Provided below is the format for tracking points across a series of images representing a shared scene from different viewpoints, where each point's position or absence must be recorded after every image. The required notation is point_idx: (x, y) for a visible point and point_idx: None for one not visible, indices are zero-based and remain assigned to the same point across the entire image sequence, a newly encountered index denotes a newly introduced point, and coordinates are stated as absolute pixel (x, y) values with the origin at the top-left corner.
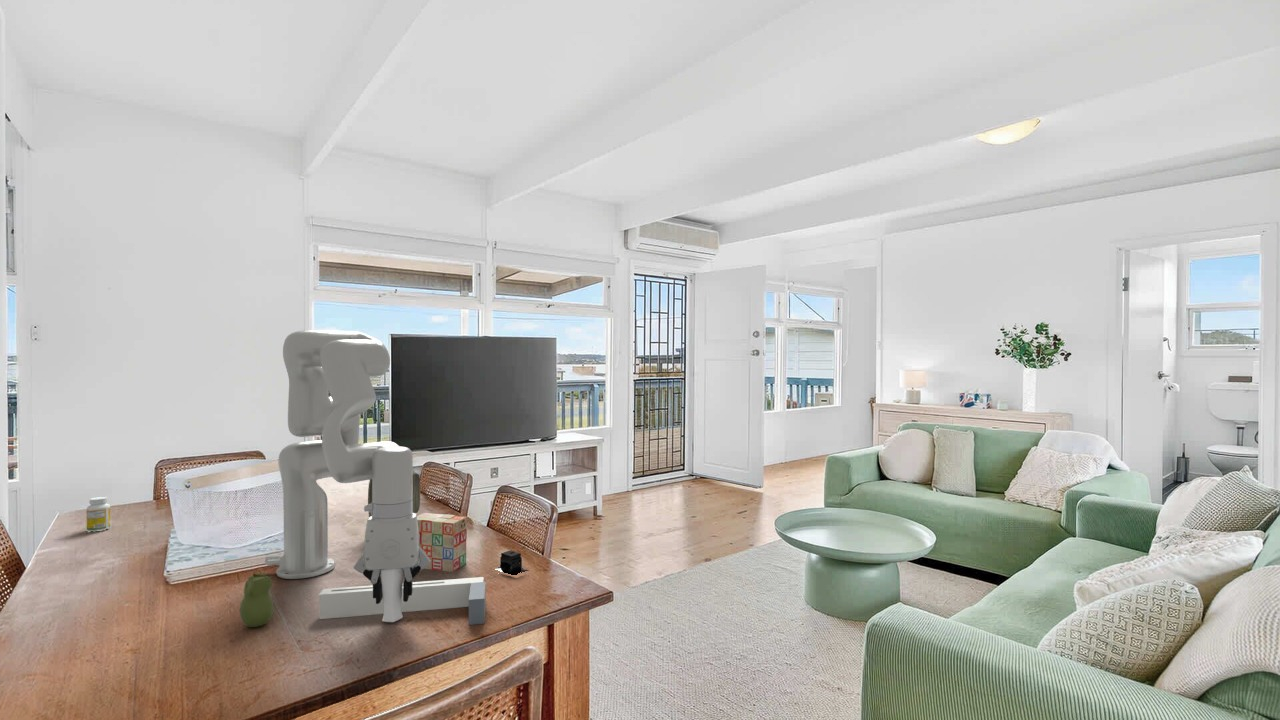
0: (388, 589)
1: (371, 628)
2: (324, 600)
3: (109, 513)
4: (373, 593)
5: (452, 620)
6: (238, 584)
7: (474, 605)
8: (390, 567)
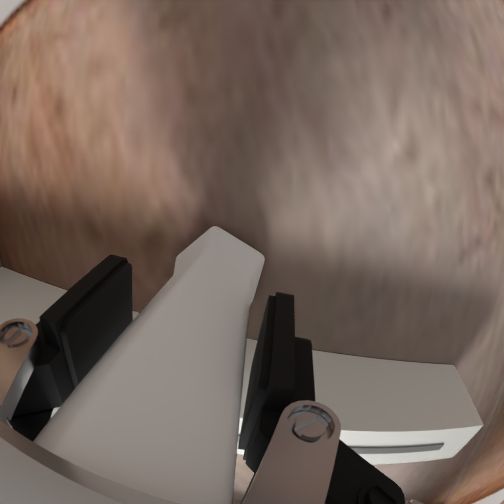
0: (192, 335)
1: (311, 221)
2: (463, 409)
3: None
4: (308, 356)
5: (24, 180)
6: (474, 489)
7: None
8: (38, 479)
